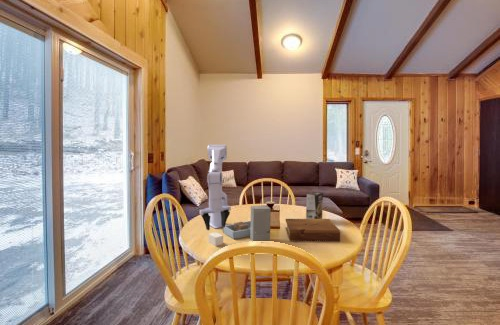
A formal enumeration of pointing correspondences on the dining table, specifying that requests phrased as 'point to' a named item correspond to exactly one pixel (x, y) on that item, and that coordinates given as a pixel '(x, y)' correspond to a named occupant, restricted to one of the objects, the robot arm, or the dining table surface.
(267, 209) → the skincare box
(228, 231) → the tote
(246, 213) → the dining table surface
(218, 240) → the cream box
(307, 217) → the coffee box
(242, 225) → the walnut block
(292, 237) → the brown flat block
